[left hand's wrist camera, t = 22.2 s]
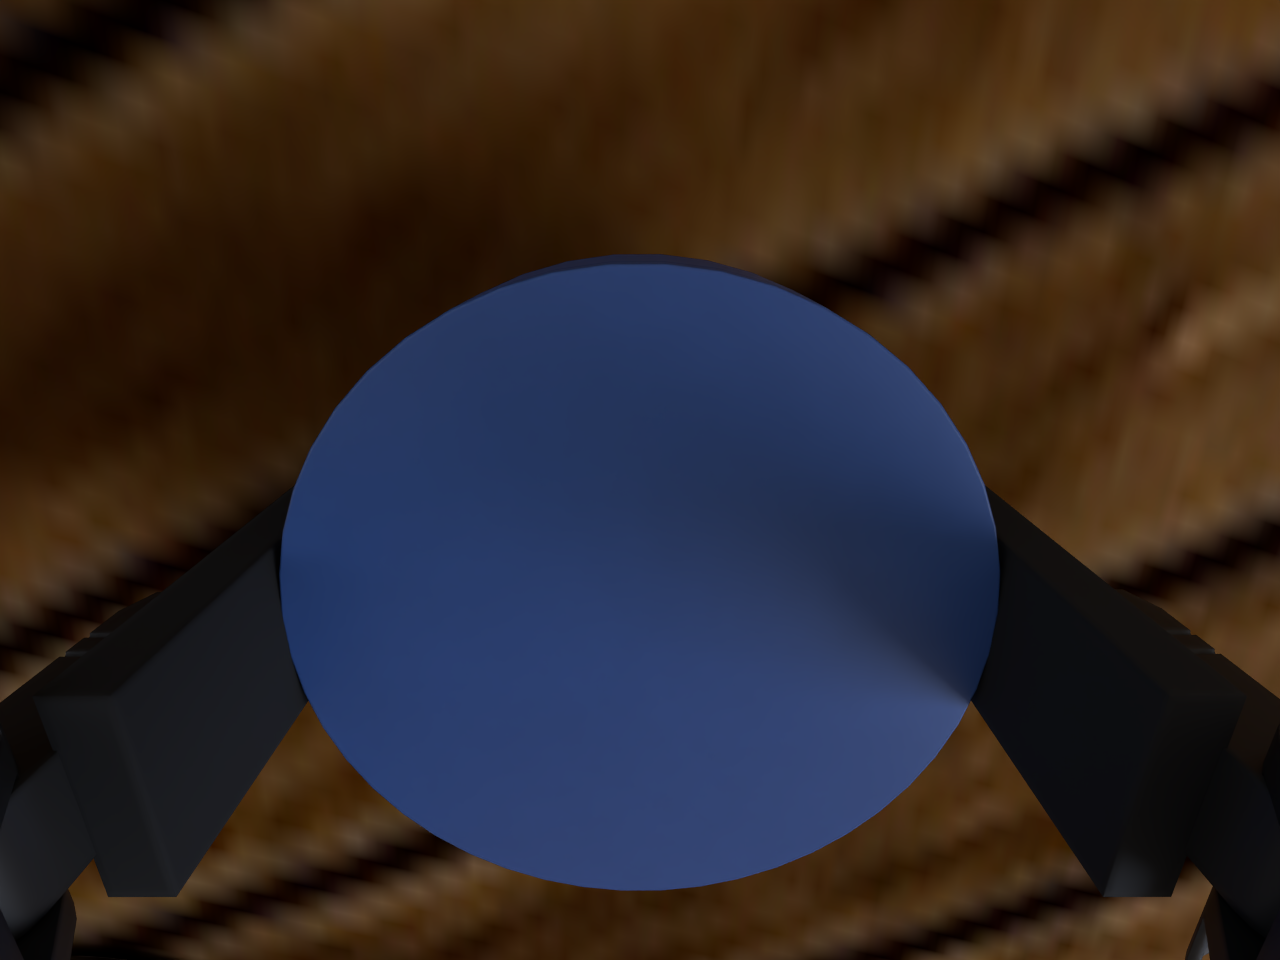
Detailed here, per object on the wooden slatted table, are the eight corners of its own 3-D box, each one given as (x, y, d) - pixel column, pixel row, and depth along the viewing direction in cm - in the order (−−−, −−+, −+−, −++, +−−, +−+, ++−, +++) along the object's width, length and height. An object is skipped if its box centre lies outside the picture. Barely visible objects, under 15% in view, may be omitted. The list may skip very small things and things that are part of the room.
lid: (671, 86, 9) (679, 56, 8) (1061, 592, 12) (1134, 659, 10) (207, 547, 12) (128, 608, 10) (618, 881, 15) (615, 976, 13)
